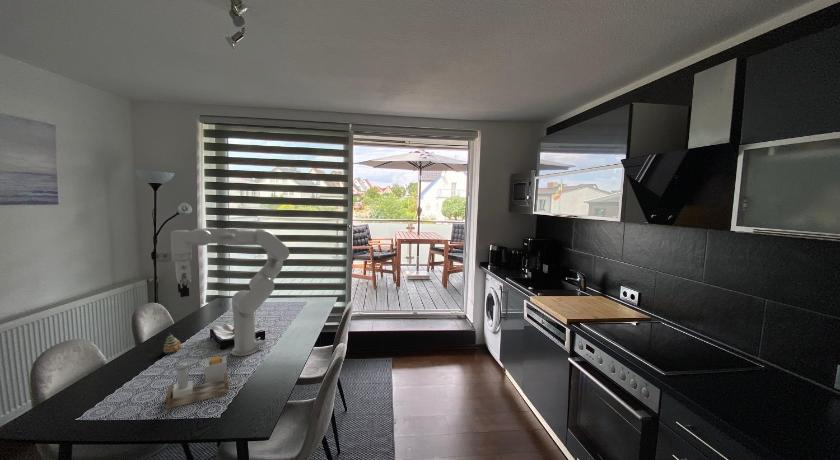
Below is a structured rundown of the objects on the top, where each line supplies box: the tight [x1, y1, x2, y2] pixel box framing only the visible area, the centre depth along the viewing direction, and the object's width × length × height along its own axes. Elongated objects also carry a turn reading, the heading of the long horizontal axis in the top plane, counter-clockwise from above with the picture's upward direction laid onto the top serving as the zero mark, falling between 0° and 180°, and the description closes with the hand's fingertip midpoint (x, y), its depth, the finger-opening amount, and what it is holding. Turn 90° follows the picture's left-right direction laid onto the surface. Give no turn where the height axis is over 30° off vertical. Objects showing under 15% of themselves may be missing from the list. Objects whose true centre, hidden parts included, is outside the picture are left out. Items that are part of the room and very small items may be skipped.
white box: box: [204, 355, 228, 384], centre depth 142 cm, size 8×7×8 cm
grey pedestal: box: [173, 361, 194, 398], centre depth 128 cm, size 6×7×11 cm
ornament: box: [163, 332, 182, 355], centre depth 169 cm, size 8×6×10 cm
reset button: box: [210, 355, 221, 365], centre depth 142 cm, size 4×4×3 cm
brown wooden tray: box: [165, 372, 229, 410], centre depth 131 cm, size 20×9×4 cm, turn 122°
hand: (183, 294), depth 150 cm, fingers open, 9 cm apart
